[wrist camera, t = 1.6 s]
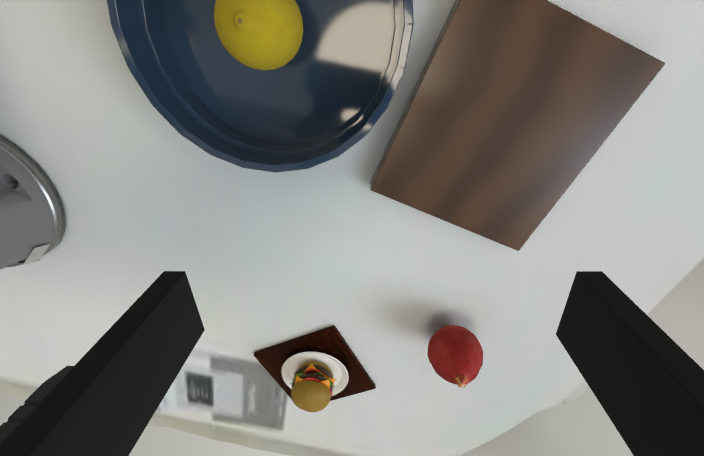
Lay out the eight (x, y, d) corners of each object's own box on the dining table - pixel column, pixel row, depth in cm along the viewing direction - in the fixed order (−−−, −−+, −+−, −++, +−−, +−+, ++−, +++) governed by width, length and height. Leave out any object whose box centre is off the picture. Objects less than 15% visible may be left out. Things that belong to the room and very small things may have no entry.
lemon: (258, -32, 24) (210, -65, 17) (324, 13, 26) (304, 0, 18) (231, 42, 27) (180, 40, 20) (292, 81, 28) (265, 91, 21)
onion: (483, 328, 40) (506, 388, 33) (446, 352, 42) (460, 413, 35) (450, 301, 38) (467, 358, 31) (413, 328, 40) (422, 387, 33)
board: (370, 184, 32) (370, 190, 31) (471, -33, 24) (477, -38, 23) (513, 243, 34) (518, 251, 33) (651, 62, 26) (666, 63, 25)
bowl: (138, 101, 30) (97, 109, 25) (168, -219, 21) (111, -292, 16) (347, 186, 32) (343, 208, 28) (456, -64, 23) (475, -90, 19)
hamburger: (300, 405, 49) (292, 444, 44) (254, 352, 44) (239, 389, 39) (375, 385, 46) (375, 424, 41) (334, 325, 41) (328, 362, 36)
